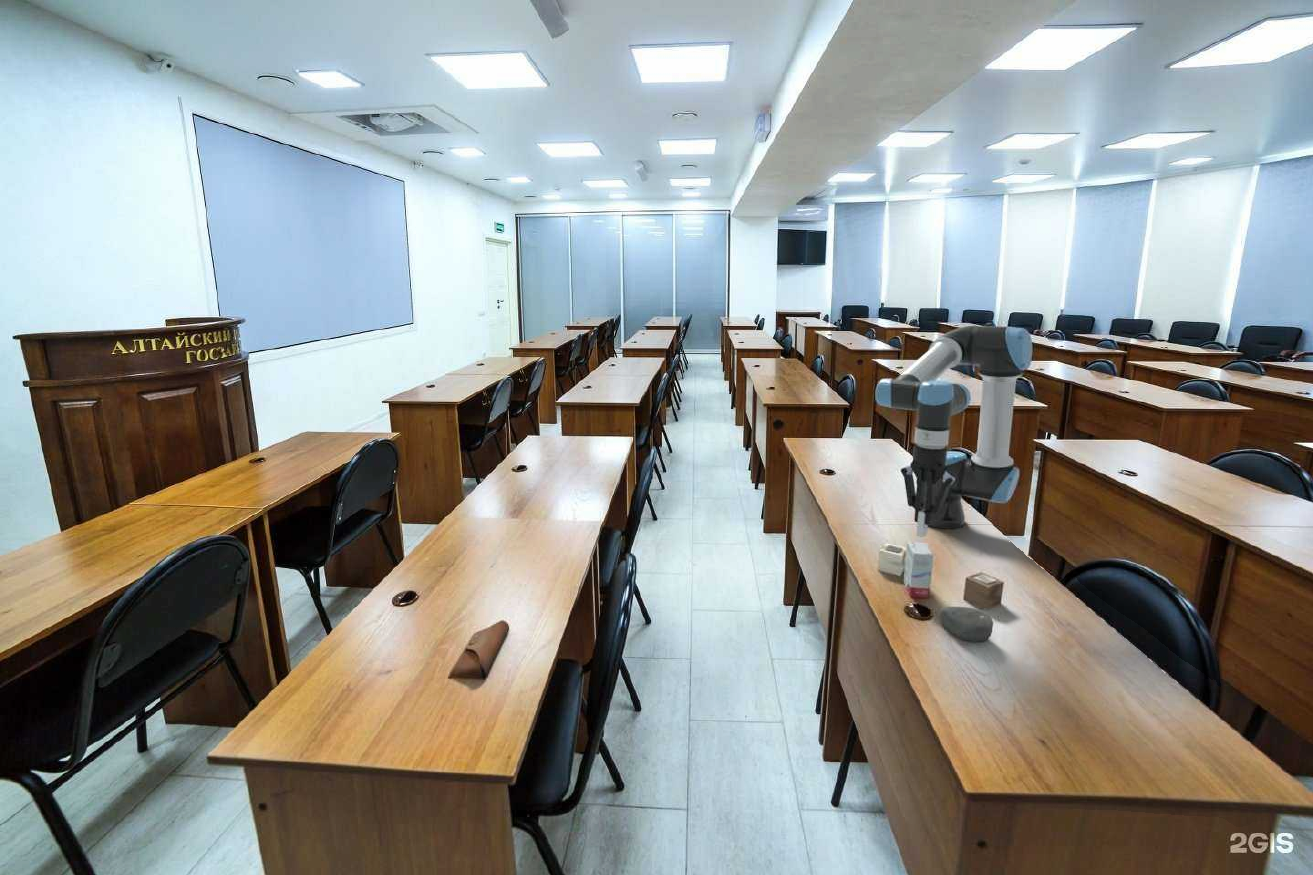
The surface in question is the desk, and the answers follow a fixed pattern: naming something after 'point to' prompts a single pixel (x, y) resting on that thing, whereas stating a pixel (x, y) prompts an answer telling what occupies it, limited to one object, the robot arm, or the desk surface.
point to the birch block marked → (892, 559)
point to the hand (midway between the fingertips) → (921, 534)
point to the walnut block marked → (983, 590)
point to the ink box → (918, 569)
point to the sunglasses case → (480, 652)
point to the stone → (967, 623)
